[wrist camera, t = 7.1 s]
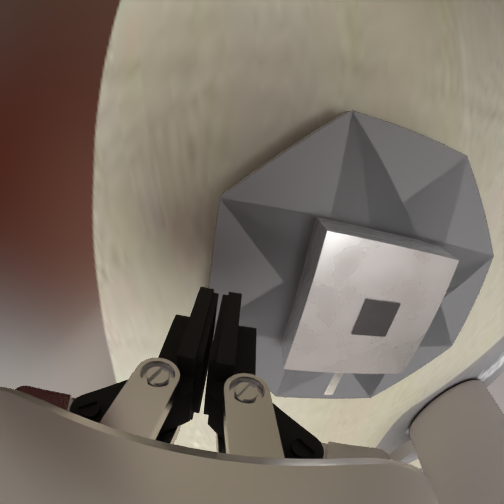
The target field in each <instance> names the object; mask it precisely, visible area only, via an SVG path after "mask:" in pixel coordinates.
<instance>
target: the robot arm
mask: <svg viewBox="0 0 504 504" xmlns="http://www.w3.org/2000/svg"><path fill="white" fill-rule="evenodd" d="M218 296H219V293H214V289H211V288H205V287H200V290H199V293H198V296H197V298H196V301H195V304H194V307H193V310H192V313H191V316H190V317H187V316H181V315H176V316H175V318H174V320H173V323H172V325H171V328H170V330H169V332H168V335H167V337H166V340H165V342H164V345H163V347H162V350H161V352H160V355H159V357H158V358H150V359H146V360H145V361H143V362H141V363H140V364H139V365H138V366H137V368H136V369H135V371H134V372H133V373H132V375H131V376H130V378H129V379H128V380H125V381H123V382H120V383H117V384H114V385H111V386H109V387H105V388H102V389H100V390H96V391H93V392H90V393H87V394H84V395H81V396H80V397H77V398H72V396H71V395H69V394H64V393H59V392H54V391H49V390H44V389H40V388H35V387H31V386H20V387H18V388H17V389H15V390H14V389H11V388H6V387H0V504H439V503H438V500H437V497H436V494H435V492H434V490H433V487H432V485H431V483H430V481H429V480H428V478H427V477H426V475H425V474H424V473H423V472H422V471H421V470H420V469H418V468H417V467H415V466H412V465H410V464H407V463H404V462H399V461H395V460H391V458H390V457H389V455H388V454H387V453H386V452H385V451H383V450H381V449H377V448H369V447H361V446H354V445H347V444H341V443H335V442H328V444H325V443H321V442H320V441H319V440H318V439H317V438H316V437H315V436H313V435H312V434H311V433H309V432H308V431H307V430H306V429H304V428H303V427H302V426H300V425H299V424H298V423H297V422H295V421H294V420H293V419H292V418H290V417H289V416H288V415H287V414H285V413H284V412H283V411H282V410H280V409H279V408H278V407H277V406H276V405H274V404H273V403H272V399H271V394H270V390H269V387H268V385H267V384H266V382H265V381H264V380H263V379H261V378H260V377H258V376H256V336H257V329H256V328H252V327H245V326H239V318H240V309H241V299H242V294H241V293H235V292H229V293H228V295H225V294H223V296H222V301H221V305H220V310H219V315H218V320H217V324H216V329H215V334H214V328H215V320H216V312H217V304H218ZM213 337H214V339H213ZM207 371H208V374H207ZM206 376H207V384H206V394H205V405H204V414H207V415H209V418H208V425H209V426H210V427H211V428H212V429H213V430H214V431H215V432H216V448H217V452H212V451H206V450H200V449H194V448H189V447H184V446H179V445H174V442H175V440H176V438H177V436H178V433H179V431H180V427H181V425H182V424H184V423H186V422H188V421H190V419H191V420H192V419H193V414H194V412H196V413H199V412H200V407H201V401H202V396H203V391H204V386H205V381H206Z"/></svg>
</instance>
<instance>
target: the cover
mask: <svg viewBox="0 0 504 504" xmlns="http://www.w3.org/2000/svg"><path fill="white" fill-rule="evenodd" d="M458 262H459V260H458V259H456V258H455V257H454V256H452V255H451V254H450V253H448V252H447V251H446V250H444V249H443V248H441V247H440V246H439V245H435V244H431V243H427V242H423V241H419V240H416V239H412V238H408V237H404V236H399V235H395V234H391V233H387V232H383V231H379V230H374V229H370V228H366V227H361V226H357V225H352V224H348V223H343V222H339V221H334V220H329V219H325V218H320V217H316V221H315V225H314V229H313V233H312V237H311V241H310V244H309V248H308V252H307V256H306V259H305V263H304V267H303V270H302V274H301V277H300V281H299V285H298V288H297V292H296V295H295V298H294V302H293V305H292V309H291V312H290V315H289V319H288V322H287V325H286V328H285V332H284V335H283V338H282V341H281V351H282V359H283V368H284V369H288V370H300V371H313V372H330V373H357V374H399V373H403V372H404V370H405V369H406V367H407V365H408V364H409V362H410V360H411V359H412V357H413V355H414V354H415V352H416V350H417V348H418V347H419V345H420V343H421V341H422V339H423V338H424V336H425V334H426V332H427V330H428V328H429V326H430V324H431V323H432V321H433V319H434V317H435V315H436V312H437V310H438V308H439V306H440V304H441V302H442V300H443V298H444V296H445V293H446V291H447V289H448V286H449V284H450V282H451V279H452V277H453V275H454V272H455V270H456V267H457V265H458Z"/></svg>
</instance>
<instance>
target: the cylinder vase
mask: <svg viewBox="0 0 504 504" xmlns="http://www.w3.org/2000/svg"><path fill="white" fill-rule="evenodd" d="M409 434H410V438H411V440H412V443H413V445H414V448H415V451H416V453H417V456H418V458H419V461H420V464H421V466H422V469H423V472H424V474H425V475H426V477H427V478H428V480H429V481H430V483H431V485H432V487H433V490H434V492H435V494H436V497H437V500H438V503H439V504H504V414H503V412H502V411H501V409H500V408H499V406H498V404H497V403H496V402H495V400H494V398H493V397H492V396H491V394H490V392H489V391H488V389H487V388H486V386H485V385H484V384H483V383H482V382H481V381H478V380H471V381H466V382H463V383H461V384H459V385H457V386H455V387H453V388H451V389H449V390H448V391H446V392H444V393H443V394H441V395H440V396H439V397H437V398H436V399H435V400H433V401H432V402H431V403H430V404H429V405H428V406H426V407H425V408H424V409H423V410H422V411H421V412H420V413H419V415H418V416H417V417H416V418H415V420H414V421H413V423H412V425H411V427H410V432H409Z"/></svg>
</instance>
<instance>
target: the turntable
mask: <svg viewBox="0 0 504 504" xmlns="http://www.w3.org/2000/svg"><path fill="white" fill-rule="evenodd" d="M316 217H320V218H325V219H329V220H334V221H339V222H343V223H348V224H352V225H357V226H361V227H366V228H370V229H374V230H379V231H383V232H387V233H391V234H395V235H399V236H404V237H408V238H412V239H416V240H419V241H423V242H427V243H431V244H435V245H439V246H440V247H441V248H443V249H444V250H446V251H447V252H448V253H450V254H451V255H452V256H454V257H455V258H456V259H458V260H459V262H458V265H457V267H456V270H455V272H454V275H453V277H452V279H451V282H450V284H449V286H448V289H447V291H446V293H445V296H444V298H443V300H442V302H441V304H440V306H439V308H438V310H437V312H436V315H435V317H434V319H433V321H432V323H431V324H430V326H429V328H428V330H427V332H426V334H425V336H424V338H423V339H422V341H421V343H420V345H419V347H418V348H417V350H416V352H415V354H414V355H413V357H412V359H411V360H410V362H409V364H408V365H407V367H406V369H405V370H404V372H403V373H399V374H357V373H330V372H313V371H300V370H288V369H284V368H283V359H282V351H281V341H282V338H283V335H284V332H285V328H286V325H287V322H288V319H289V315H290V312H291V309H292V305H293V302H294V298H295V295H296V292H297V288H298V285H299V281H300V277H301V274H302V270H303V267H304V263H305V259H306V256H307V252H308V248H309V244H310V241H311V237H312V233H313V229H314V225H315V221H316ZM493 256H494V255H493V249H492V244H491V239H490V234H489V229H488V225H487V220H486V216H485V212H484V208H483V205H482V201H481V197H480V194H479V190H478V187H477V184H476V181H475V177H474V174H473V171H472V168H471V166H470V163H469V160H468V157H467V155H465V154H463V153H461V152H458V151H456V150H454V149H452V148H450V147H448V146H446V145H444V144H441V143H439V142H437V141H435V140H432V139H430V138H428V137H425V136H423V135H421V134H418V133H416V132H413V131H411V130H408V129H405V128H403V127H400V126H397V125H395V124H392V123H389V122H386V121H383V120H381V119H378V118H375V117H372V116H368V115H365V114H362V113H359V112H356V111H348V112H344V113H342V114H340V115H339V116H337V117H335V118H334V119H332V120H330V121H329V122H327V123H326V124H324V125H322V126H321V127H319V128H318V129H316V130H315V131H313V132H311V133H310V134H308V135H307V136H305V137H304V138H302V139H300V140H299V141H297V142H296V143H294V144H293V145H291V146H290V147H288V148H287V149H285V150H284V151H282V152H281V153H279V154H278V155H276V156H275V157H273V158H272V159H270V160H269V161H267V162H266V163H264V164H263V165H262V166H260V167H259V168H257V169H256V170H254V171H253V172H251V173H250V174H249V175H247V176H246V177H244V178H243V179H242V180H240V181H239V182H237V183H236V184H235V185H233V186H232V187H230V188H229V189H228V190H226V191H225V192H223V194H222V195H221V197H220V201H219V209H218V216H217V224H216V231H215V239H214V247H213V255H212V264H211V272H210V281H209V288H211V289H214V293H219V296H218V304H217V312H216V320H215V328H214V334H215V329H216V324H217V320H218V315H219V310H220V305H221V301H222V296H223V294H225V295H228V293H229V292H235V293H241V294H242V299H241V309H240V318H239V326H245V327H252V328H256V329H257V336H256V376H258V377H260V378H261V379H263V380H264V381H265V382H266V384H267V385H268V387H269V390H270V392H272V393H273V394H274V395H275V396H278V397H295V398H328V399H343V398H371V397H373V396H374V395H376V394H378V393H380V392H382V391H384V390H385V389H387V388H389V387H391V386H392V385H394V384H396V383H397V382H399V381H401V380H402V379H404V378H406V377H407V376H409V375H410V374H412V373H414V372H415V371H417V370H418V369H420V368H421V367H423V366H424V365H426V364H427V363H429V362H430V361H432V360H433V359H435V358H436V357H437V356H439V355H440V354H442V353H443V352H444V351H446V350H447V349H449V348H450V347H451V346H452V345H453V343H454V341H455V340H456V338H457V336H458V334H459V332H460V330H461V329H462V327H463V325H464V323H465V321H466V319H467V317H468V315H469V313H470V311H471V309H472V307H473V305H474V302H475V300H476V298H477V296H478V294H479V291H480V289H481V287H482V284H483V282H484V280H485V277H486V275H487V272H488V270H489V267H490V265H491V262H492V259H493ZM213 338H214V337H213Z"/></svg>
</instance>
